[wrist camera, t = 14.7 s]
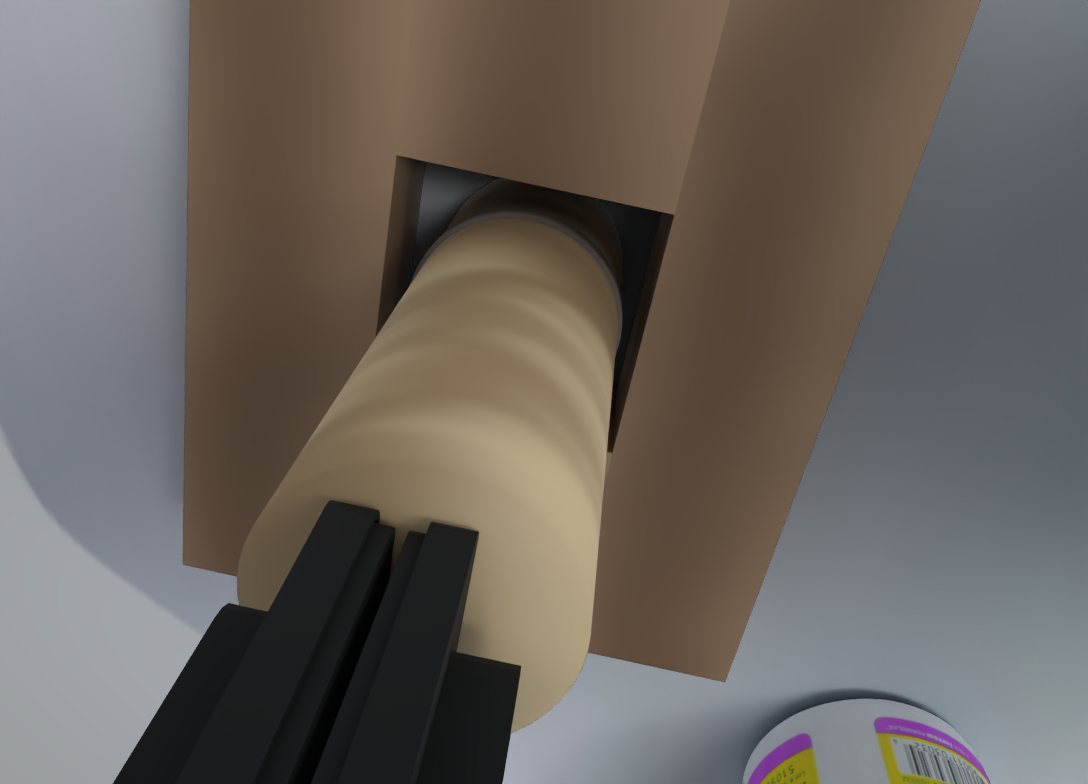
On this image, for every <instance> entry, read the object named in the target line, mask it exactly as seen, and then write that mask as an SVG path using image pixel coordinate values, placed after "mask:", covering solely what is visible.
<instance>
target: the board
mask: <svg viewBox="0 0 1088 784" xmlns="http://www.w3.org/2000/svg"><path fill="white" fill-rule="evenodd" d="M980 1H981V0H190V41H189V118H188V196H187V273H186V351H185V428H184V506H183V565H187V566H191V567H196V568H201V569H205V570H210V571H214V572H219V573H224V574H228V575H233V576H237V574H238V566H239V559H240V556H241V553H242V549H243V546H244V543H245V541H246V539H247V537H248V535H249V533H250V531H251V529H252V527H253V525H254V524H255V522H256V520H257V519H258V517H259V516H260V514H261V513H262V511H263V510H264V508H265V507H266V505H267V504H268V502H269V501H270V499H271V497H272V496H273V494H274V493H275V491H276V490H277V488H278V487H279V485H280V484H281V482H282V481H283V479H284V478H285V476H286V474H287V473H288V471H289V470H290V468H291V467H292V465H293V464H294V462H295V461H296V459H297V458H298V456H299V455H300V453H301V451H302V450H303V448H304V447H305V445H306V444H307V442H308V441H309V439H310V438H311V436H312V435H313V433H314V432H315V430H316V428H317V427H318V425H319V424H320V422H321V421H322V419H323V418H324V416H325V415H326V413H327V412H328V410H329V409H330V407H331V405H332V404H333V402H334V401H335V399H336V398H337V396H338V395H339V393H340V392H341V390H342V389H343V387H344V386H345V384H346V382H347V381H348V379H349V378H350V376H351V375H352V373H353V372H354V370H355V369H356V367H357V366H358V364H359V363H360V361H361V360H362V358H363V356H364V355H365V353H366V352H367V350H368V349H369V347H370V346H371V344H372V343H373V341H374V340H375V338H376V337H377V335H378V333H379V332H380V330H381V329H382V327H383V326H384V324H385V323H386V321H387V320H388V318H389V317H390V315H391V314H392V312H393V310H394V309H395V307H396V306H397V304H398V303H399V301H400V300H401V298H402V297H403V295H404V294H405V292H406V291H407V289H408V287H409V284H410V276H411V269H412V261H413V253H414V246H415V238H416V230H417V222H418V215H419V207H420V199H421V192H422V184H423V176H424V169H425V161H426V162H431V163H436V164H440V165H445V166H450V167H454V168H459V169H463V170H468V171H473V172H477V173H482V174H487V175H491V176H496V177H501V178H505V179H510V180H515V181H519V182H524V183H529V184H533V185H538V186H543V187H547V188H552V189H557V190H561V191H566V192H571V193H575V194H580V195H585V196H589V197H594V198H599V199H603V200H608V201H613V202H617V203H622V204H627V205H631V206H636V207H641V208H645V209H650V210H655V211H659V212H662V214H661V218H660V222H659V226H658V230H657V234H656V238H655V241H654V245H653V249H652V253H651V257H650V261H649V265H648V269H647V273H646V277H645V281H644V285H643V289H642V293H641V297H640V301H639V305H638V309H637V312H636V316H635V320H634V324H633V328H632V332H631V336H630V340H629V344H628V348H627V352H626V356H625V360H624V364H623V368H622V372H621V376H620V380H619V383H618V387H617V389H615V388H612V398H611V410H610V421H609V432H608V444H607V455H606V467H605V478H604V490H603V501H602V512H601V524H600V535H599V547H598V558H597V570H596V581H595V592H594V604H593V615H592V627H591V637H590V642H589V648H588V653H593V654H597V655H602V656H607V657H611V658H616V659H621V660H625V661H630V662H634V663H639V664H644V665H648V666H653V667H657V668H662V669H667V670H671V671H676V672H681V673H685V674H690V675H694V676H699V677H704V678H708V679H713V680H717V681H722V682H725V681H726V678H727V676H728V673H729V670H730V668H731V665H732V662H733V660H734V657H735V654H736V652H737V649H738V646H739V644H740V641H741V638H742V636H743V633H744V630H745V628H746V625H747V622H748V620H749V617H750V614H751V612H752V609H753V606H754V604H755V601H756V598H757V596H758V593H759V590H760V588H761V585H762V582H763V580H764V577H765V574H766V572H767V569H768V566H769V564H770V561H771V558H772V556H773V553H774V550H775V548H776V545H777V542H778V540H779V537H780V534H781V532H782V529H783V526H784V524H785V521H786V518H787V516H788V513H789V510H790V508H791V505H792V502H793V500H794V497H795V494H796V492H797V489H798V486H799V484H800V481H801V478H802V476H803V473H804V470H805V468H806V465H807V462H808V460H809V457H810V454H811V452H812V449H813V446H814V444H815V441H816V438H817V436H818V433H819V430H820V428H821V425H822V422H823V420H824V417H825V414H826V412H827V409H828V406H829V404H830V401H831V398H832V396H833V393H834V390H835V388H836V385H837V382H838V380H839V377H840V374H841V372H842V369H843V366H844V364H845V361H846V358H847V356H848V353H849V350H850V348H851V345H852V342H853V340H854V337H855V334H856V332H857V329H858V326H859V324H860V321H861V318H862V316H863V313H864V310H865V308H866V305H867V302H868V300H869V297H870V294H871V292H872V289H873V286H874V284H875V281H876V278H877V276H878V273H879V270H880V268H881V265H882V262H883V260H884V257H885V254H886V251H887V249H888V246H889V243H890V241H891V238H892V235H893V233H894V230H895V227H896V225H897V222H898V219H899V217H900V214H901V211H902V209H903V206H904V203H905V201H906V198H907V195H908V193H909V190H910V187H911V185H912V182H913V179H914V177H915V174H916V171H917V169H918V166H919V163H920V161H921V158H922V155H923V153H924V150H925V147H926V145H927V142H928V139H929V137H930V134H931V131H932V129H933V126H934V123H935V121H936V118H937V115H938V113H939V110H940V107H941V105H942V102H943V99H944V97H945V94H946V91H947V89H948V86H949V83H950V81H951V78H952V75H953V73H954V70H955V67H956V65H957V62H958V59H959V57H960V54H961V51H962V49H963V46H964V43H965V41H966V38H967V35H968V33H969V30H970V27H971V25H972V22H973V19H974V17H975V14H976V11H977V9H978V6H979V3H980Z"/></svg>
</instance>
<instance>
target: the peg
mask: <svg viewBox="0 0 1088 784" xmlns="http://www.w3.org/2000/svg"><path fill="white" fill-rule="evenodd" d="M622 273H623V254H622V246H621V242H620V238H619V235H618V233H617V230H616V228H615V225H614V223H613V222H612V220H611V218H610V216H609V215H608V213H607V212H606V211H605V209H604V208H603V207H602V205H601V204H600V203H599V202H598V201H597V200H596V199H595V198H594V197H589V196H585V195H580V194H575V193H571V192H566V191H561V190H557V189H552V188H547V187H543V186H538V185H533V184H529V183H524V182H519V181H515V180H510V179H505V178H500V179H498V180H495V181H493V182H491V183H489V184H487V185H485V186H484V187H482V188H481V189H479V190H478V191H477V192H475V193H474V194H473V195H472V196H471V197H470V198H469V199H468V200H467V201H466V202H465V203H464V204H463V206H462V207H461V208H460V210H459V211H458V212H457V214H456V215H455V217H454V218H453V220H452V222H451V223H450V225H449V226H448V228H447V229H446V231H445V232H444V233H443V234H442V235H441V236H440V237H439V238H438V239H437V240H436V241H435V242H434V243H433V244H432V245H431V247H430V248H429V250H428V251H427V252H426V254H425V255H424V257H423V258H422V260H421V261H420V263H419V265H418V267H417V269H416V271H415V273H414V275H413V278H412V281H411V284H410V286H409V287H408V289H407V291H406V292H405V294H404V295H403V297H402V298H401V300H400V301H399V303H398V304H397V306H396V307H395V309H394V310H393V312H392V314H391V315H390V317H389V318H388V320H387V321H386V323H385V324H384V326H383V327H382V329H381V330H380V332H379V333H378V335H377V337H376V338H375V340H374V341H373V343H372V344H371V346H370V347H369V349H368V350H367V352H366V353H365V355H364V356H363V358H362V360H361V361H360V363H359V364H358V366H357V367H356V369H355V370H354V372H353V373H352V375H351V376H350V378H349V379H348V381H347V382H346V384H345V386H344V387H343V389H342V390H341V392H340V393H339V395H338V396H337V398H336V399H335V401H334V402H333V404H332V405H331V407H330V409H329V410H328V412H327V413H326V415H325V416H324V418H323V419H322V421H321V422H320V424H319V425H318V427H317V428H316V430H315V432H314V433H313V435H312V436H311V438H310V439H309V441H308V442H307V444H306V445H305V447H304V448H303V450H302V451H301V453H300V455H299V456H298V458H297V459H296V461H295V462H294V464H293V465H292V467H291V468H290V470H289V471H288V473H287V474H286V476H285V478H284V479H283V481H282V482H281V484H280V485H279V487H278V488H277V490H276V491H275V493H274V494H273V496H272V497H271V499H270V501H269V502H268V504H267V505H266V507H265V508H264V510H263V511H262V513H261V514H260V516H259V517H258V519H257V520H256V522H255V524H254V525H253V527H252V529H251V531H250V533H249V535H248V537H247V539H246V541H245V543H244V546H243V549H242V553H241V556H240V559H239V566H238V574H237V590H238V600H239V605H240V606H244V607H249V608H254V609H258V610H263V611H268V610H269V609H270V607H271V605H272V603H273V601H274V599H275V598H276V596H277V594H278V592H279V590H280V588H281V587H282V585H283V583H284V581H285V579H286V577H287V575H288V574H289V572H290V570H291V568H292V566H293V564H294V563H295V561H296V559H297V557H298V555H299V553H300V552H301V550H302V548H303V546H304V544H305V542H306V541H307V539H308V537H309V535H310V533H311V531H312V529H313V528H314V526H315V524H316V522H317V520H318V518H319V517H320V515H321V513H322V511H323V509H324V507H325V506H326V504H327V503H328V501H330V500H334V501H339V502H343V503H348V504H353V505H358V506H362V507H367V508H372V509H376V510H379V512H380V523H379V524H383V525H388V526H392V527H395V540H394V547H393V554H392V561H391V568H390V575H389V580H390V578H391V575H392V572H393V570H394V567H395V565H396V562H397V559H398V557H399V554H400V552H401V549H402V546H403V544H404V541H405V539H406V536H407V534H408V532H409V531H410V530H411V531H416V532H420V533H425V534H426V533H427V530H428V528H429V525H430V523H431V522H437V523H442V524H446V525H451V526H456V527H460V528H465V529H470V530H474V531H479V538H478V543H477V549H476V554H475V559H474V564H473V569H472V575H471V580H470V585H469V590H468V595H467V601H466V606H465V611H464V616H463V621H462V627H461V632H460V637H459V642H458V647H457V652H459V653H464V654H469V655H473V656H478V657H483V658H487V659H492V660H497V661H501V662H506V663H511V664H515V665H520V666H521V673H520V680H519V686H518V692H517V698H516V704H515V710H514V716H513V722H512V728H511V733H513V732H515V731H517V730H519V729H521V728H523V727H525V726H527V725H529V724H531V723H533V722H534V721H536V720H537V719H538V718H540V717H541V716H543V715H544V714H546V713H547V712H548V711H549V710H551V709H552V708H553V707H554V706H555V705H556V704H557V703H558V702H559V701H560V700H561V699H562V698H563V697H564V696H565V694H566V693H567V692H568V691H569V689H570V688H571V687H572V686H573V684H574V682H575V680H576V679H577V677H578V675H579V673H580V672H581V670H582V667H583V664H584V661H585V659H586V656H587V653H588V648H589V642H590V637H591V627H592V615H593V604H594V592H595V581H596V570H597V558H598V547H599V535H600V524H601V512H602V501H603V490H604V478H605V467H606V455H607V444H608V432H609V421H610V410H611V398H612V387H613V375H614V364H615V355H616V352H617V349H618V346H619V343H620V337H621V331H622V315H623V308H622V299H621V284H622ZM388 583H389V582H388Z"/></svg>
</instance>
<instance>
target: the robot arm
mask: <svg viewBox="0 0 1088 784" xmlns="http://www.w3.org/2000/svg"><path fill="white" fill-rule="evenodd" d="M379 523H380V512H379V510H376V509H372V508H367V507H362V506H358V505H353V504H348V503H343V502H339V501H334V500H330V501H328V503H327V504H326V506H325V507H324V509H323V511H322V513H321V515H320V517H319V518H318V520H317V522H316V524H315V526H314V528H313V529H312V531H311V533H310V535H309V537H308V539H307V541H306V542H305V544H304V546H303V548H302V550H301V552H300V553H299V555H298V557H297V559H296V561H295V563H294V564H293V566H292V568H291V570H290V572H289V574H288V575H287V577H286V579H285V581H284V583H283V585H282V587H281V588H280V590H279V592H278V594H277V596H276V598H275V599H274V601H273V603H272V605H271V607H270V609H269V610H268V611H263V610H258V609H254V608H249V607H244V606H240V605H235V604H230V603H228V604H227V605H225V606H224V607H222V609H221V610H220V611H219V613H218V614H217V615H216V617H215V618H214V620H213V621H212V623H211V625H210V626H209V628H208V630H207V631H206V633H205V634H204V636H203V638H202V639H201V641H200V643H199V644H198V646H197V647H196V649H195V651H194V652H193V654H192V656H191V657H190V659H189V660H188V662H187V664H186V666H185V667H184V669H183V670H182V672H181V674H180V675H179V677H178V679H177V680H176V682H175V683H174V685H173V687H172V688H171V690H170V691H169V693H168V695H167V696H166V698H165V700H164V701H163V703H162V705H161V706H160V708H159V709H158V711H157V713H156V714H155V716H154V718H153V719H152V721H151V722H150V724H149V726H148V727H147V729H146V731H145V732H144V734H143V736H142V737H141V739H140V740H139V742H138V744H137V745H136V747H135V749H134V750H133V752H132V753H131V755H130V757H129V758H128V760H127V761H126V763H125V765H124V766H123V768H122V770H121V771H120V773H119V775H118V776H117V778H116V780H115V781H114V783H113V784H502V782H503V776H504V770H505V764H506V758H507V752H508V746H509V740H510V734H511V728H512V722H513V716H514V710H515V704H516V698H517V692H518V686H519V680H520V673H521V666H520V665H515V664H511V663H506V662H501V661H497V660H492V659H487V658H483V657H478V656H473V655H469V654H464V653H459V652H457V647H458V642H459V637H460V632H461V627H462V621H463V616H464V611H465V606H466V601H467V595H468V590H469V585H470V580H471V575H472V569H473V564H474V559H475V554H476V549H477V543H478V538H479V531H474V530H470V529H465V528H460V527H456V526H451V525H446V524H442V523H437V522H431V523H430V525H429V528H428V530H427V533H426V534H425V533H420V532H416V531H411V530H410V531H409V532H408V534H407V536H406V539H405V541H404V544H403V546H402V549H401V552H400V554H399V557H398V559H397V562H396V565H395V567H394V570H393V572H392V575H391V578H390V580H389V575H390V568H391V561H392V554H393V547H394V540H395V527H392V526H388V525H383V524H379ZM388 582H389V583H388Z"/></svg>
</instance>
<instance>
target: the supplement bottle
mask: <svg viewBox="0 0 1088 784" xmlns="http://www.w3.org/2000/svg"><path fill="white" fill-rule="evenodd" d="M742 784H990V781H989V779H988V777H987V775H986V773H985V771H984V769H983V767H982V765H981V763H980V760H979V759H978V757H977V755H976V753H975V752H974V750H973V749H972V747H971V746H970V745H969V744H968V742H967V741H966V740H965V739H964V738H963V737H962V736H961V735H960V734H959V733H958V732H957V731H956V730H955V729H954V728H953V727H952V726H950V725H949V724H948V723H946V722H945V721H943V720H942V719H940V718H938V717H937V716H935V715H933V714H931V713H929V712H927V711H924V710H922V709H919V708H917V707H914V706H911V705H907V704H904V703H900V702H896V701H890V700H883V699H850V700H842V701H836V702H831V703H826V704H822V705H818V706H815V707H812V708H809V709H806V710H804V711H801V712H799V713H797V714H795V715H793V716H791V717H789V718H787V719H786V720H784V721H783V722H781V723H780V724H778V725H777V726H776V727H774V728H773V729H772V730H771V731H770V732H769V733H768V734H767V735H766V736H765V737H764V738H763V739H762V740H761V741H760V742H759V744H758V745H757V746H756V748H755V749H754V751H753V752H752V754H751V756H750V758H749V760H748V763H747V766H746V768H745V772H744V776H743V782H742Z"/></svg>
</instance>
